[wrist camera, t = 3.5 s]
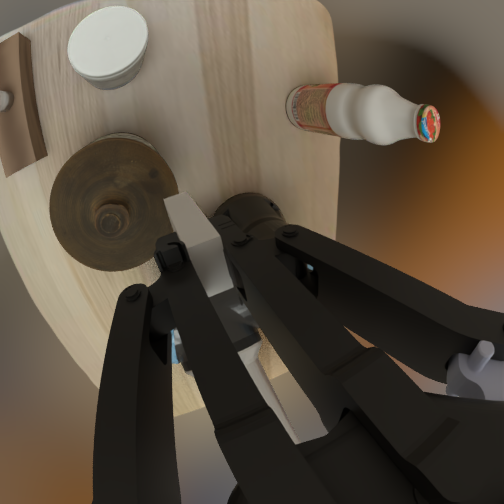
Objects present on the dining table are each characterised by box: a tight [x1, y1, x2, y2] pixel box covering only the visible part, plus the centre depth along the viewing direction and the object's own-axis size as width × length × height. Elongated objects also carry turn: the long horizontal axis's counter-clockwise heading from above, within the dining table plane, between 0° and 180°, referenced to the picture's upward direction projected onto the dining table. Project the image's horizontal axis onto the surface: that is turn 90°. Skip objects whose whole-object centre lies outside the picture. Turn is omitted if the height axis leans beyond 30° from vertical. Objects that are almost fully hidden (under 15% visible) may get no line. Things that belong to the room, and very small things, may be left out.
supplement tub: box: [67, 6, 148, 90], centre depth 24 cm, size 10×10×15 cm
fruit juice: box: [286, 83, 440, 145], centre depth 35 cm, size 9×9×28 cm
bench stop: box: [0, 32, 48, 178], centre depth 21 cm, size 6×22×10 cm, turn 9°
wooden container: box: [49, 133, 179, 272], centre depth 30 cm, size 15×15×22 cm
